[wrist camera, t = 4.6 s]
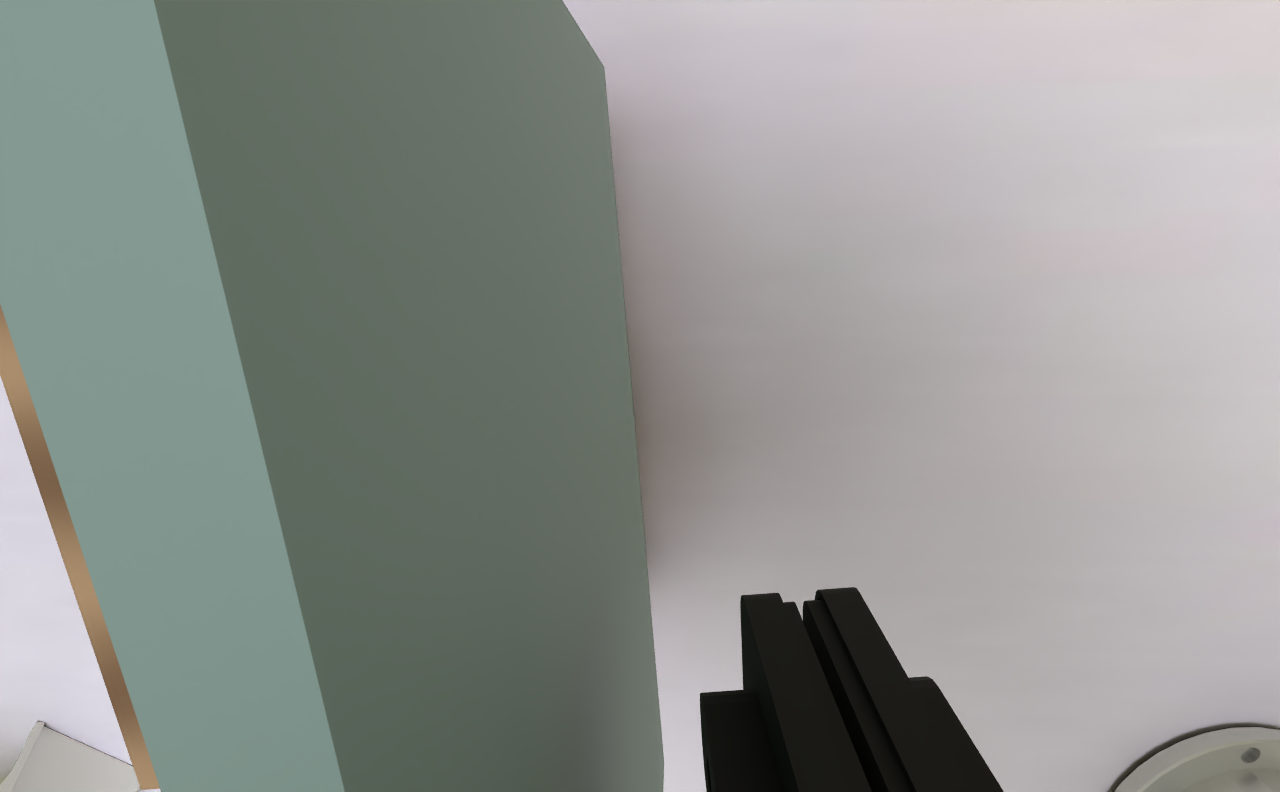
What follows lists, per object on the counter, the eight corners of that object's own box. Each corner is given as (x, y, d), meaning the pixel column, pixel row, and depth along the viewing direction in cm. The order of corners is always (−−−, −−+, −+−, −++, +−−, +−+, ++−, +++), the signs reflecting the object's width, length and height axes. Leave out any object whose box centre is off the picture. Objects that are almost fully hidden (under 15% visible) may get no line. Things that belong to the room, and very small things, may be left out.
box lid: (638, 761, 23) (663, 761, 22) (556, 1989, 7) (634, 1995, 7) (570, 70, 17) (604, 67, 17) (-420, -978, 2) (-103, -1062, 2)
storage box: (635, 590, 32) (638, 752, 23) (280, 617, 32) (141, 789, 23) (591, 112, 27) (571, 72, 17) (162, 148, 27) (-84, 128, 18)
